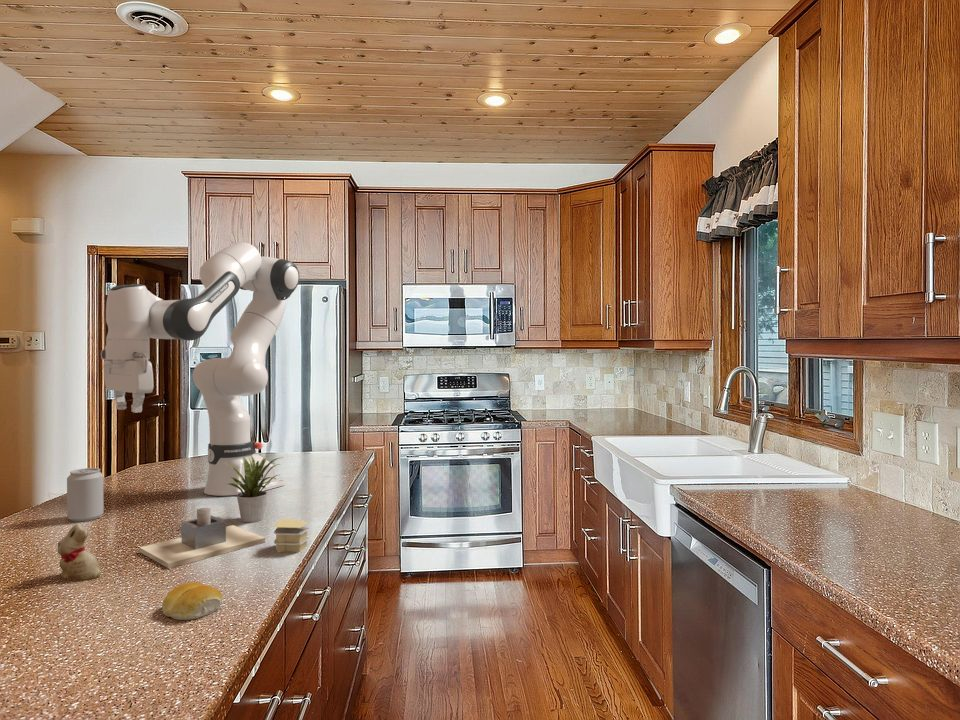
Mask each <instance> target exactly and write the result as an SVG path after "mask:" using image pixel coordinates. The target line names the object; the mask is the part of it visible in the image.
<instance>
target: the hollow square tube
mask: <svg viewBox="0 0 960 720" xmlns="http://www.w3.org/2000/svg"><path fill="white" fill-rule="evenodd" d="M210 517H211V523H209V524H205V525H201V526H197V518H194V519H190V520H186V521H181V524H180V525H181V532H180V533H181V537H182V543H183V544H185V545H187V546H189V547H191V548H193V549H195V550H196V549H200V548H204V547H208V546H211V545H215V544H219V543H223V542H226V527H227V521H226V520H224V519H221V518H219V517H216V516H213V515H210Z"/></svg>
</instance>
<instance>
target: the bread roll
mask: <svg viewBox="0 0 960 720" xmlns="http://www.w3.org/2000/svg"><path fill="white" fill-rule="evenodd" d="M223 598H224V597H223V594H222V592H221V591H220V590H219V589H218V588H216V587H214V586H212V585H208V584H204V583H203V582H198V581H192V582H191V581H189V582H185V583H182V584H179V585H177V586H175V587H173V588H172V589H171V590H170V591H168V593H167V594H166V596H165V597H164V599H163V601H162V604H161V610H162V613H163V615H164V616H166V617H169V618H172V619H174V620H175V621H176V620H177V621H189V620H196V619H199V618H200V619H201V618H202V617H205V616H208V615H210V614H213V613H214V612H216V611H218V610H219V609H220V607H221V604H222V601H223V600H224V599H223Z"/></svg>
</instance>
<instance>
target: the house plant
mask: <svg viewBox="0 0 960 720" xmlns="http://www.w3.org/2000/svg"><path fill="white" fill-rule="evenodd" d="M249 454H250V453H249ZM247 456H248V455H247ZM250 457H251V459H252V463H251V460H250V458H249V456H248V458H249V460H250V464H251V466H250V464H249V463H248V462H247V460H246V459H245V458H244V457H243V462H244V470H245V479H244V477H243V476H242V475H241V474H240V473H239V471H238V470H237V469H236V468H234V467H233V466H231V465H229V464H227V463H225V464H227V465H229V466H231V467H232V468H233V469H234V470H235V471H236V472H237V474H238V475H239V476H240V478H241V479H242V480H243V482H244V483H245V484H243V483H242V482H241V481H239V480H238V479H236V478H234V477H231V478H232V479H233V480H234V481H235V482H236V483H237V484H234V483H229V484H228V485H232V486H235V487H237V488H238V489H239V490H240V491H241V492H242V493H239V494H238V495H236V498H237V504H238V510H239V515H240V520H241V522H242V523H243V522H244V523H255V522H260V521H263V520H264V518H265V514H266V513H265V512H266V507H267V499H268V491H267V490H264V491H262V490H263V488H265V486H266V485H268V484H269V483H270V481H271V480H272V479H273V478H274V477H276V476H277V477H278V476H279V474H276V476H274V477H267V478H265V476H266V475H267V474H268V472H269V471H270V470H271V469H272V468H273V467H276V466H279V465H280V466H281V464H280V463H277V464H275V461H277V460H278V459H283V458H284V457H283V456H281V457H277V458H274V459H272V460H270V461H269V463H268V464H267V465H266V466H265V467H264V468H263V466H264V464H265V462H266V461H267V458H268V455H266V456H264V457H263V460H262V461H261V463H260V465H259V461H257V462H256V465H255V460H254V459H253V457H252V455H251V454H250ZM222 463H223V462H222ZM270 464H273V465H274V466H272V467H271V468H270V469H269V470H268V472H267V473H266V475H265V476H264V478H263V480H262V481H261V482H260V483H259V480H260V478H261V476H262V475H263V473H264V471H265V470H266V469H267V467H268V466H269V465H270ZM262 468H263V469H262ZM251 469H252V471H251ZM281 475H283V474H280V476H281ZM269 478H271V479H270V480H269V481H268V482H264V481H265V480H267V479H269ZM274 479H276V478H274ZM276 480H277V479H276ZM263 482H264V483H266V484H265V485H264V486H262V485H263V484H264V483H263ZM258 483H259V485H258ZM238 485H240V487H241V488H242V489H243V490H244V491H245V492H243V490H242V489H241V488H240V487H239V486H238ZM261 487H263V488H262V489H261ZM260 489H261V490H260ZM265 489H266V488H265ZM259 490H260V491H259Z"/></svg>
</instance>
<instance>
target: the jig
mask: <svg viewBox="0 0 960 720" xmlns="http://www.w3.org/2000/svg"><path fill="white" fill-rule="evenodd" d="M210 516H211V508H210V507H201V508H198V509H196V519H197V526H201V525H205V524H209V523H211V517H210ZM264 543H266V537H265V536H262V535H259V534H258V533H255V532H252V531H249V530H246V529H243V528H241V527H239V526H237V525H234V524H231V525H228V526H227V525H226V542H223V543H219V544H215V545H211V546H208V547H204V548H200V549H196V550H195V549H193V548H191V547H189V546H187V545H185V544H183V543H182V536H181V537H178V538H177V537H176V538H173V539H169V540H164V541H160V542H157V543H156V542H155V543H151V544H148V545H143V546H140V547H139V553H141V554H142V555H144V556H145V557H147V558H148V559H151V560H153V561H155V562H156V563H158V564H160V565H162V566H163V567H165V568H167V569H172V568H176V567H180V566H183V565H186V564H190V563H195V562H198V561H202V560H206V559H209V558H213V557H216V556H221V555H223V554H227V553H231V552H235V551H238V550H242V549H245V548H249V547H253V546H256V545H261V544H264Z"/></svg>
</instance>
